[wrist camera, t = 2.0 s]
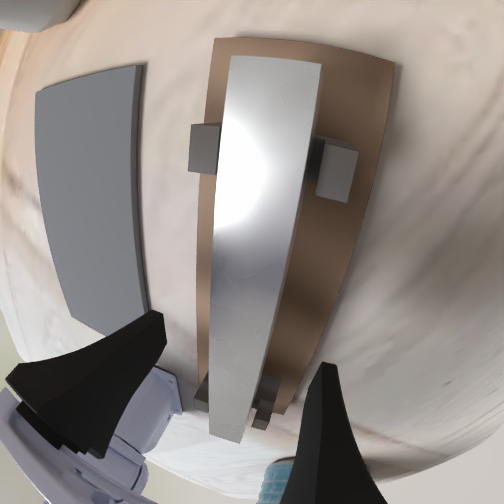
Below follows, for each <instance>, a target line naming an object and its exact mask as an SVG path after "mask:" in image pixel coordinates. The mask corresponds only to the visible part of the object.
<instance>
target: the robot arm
mask: <svg viewBox="0 0 504 504" xmlns="http://www.w3.org/2000/svg"><path fill="white" fill-rule="evenodd" d="M166 344H167V338H166V332H165V324H164V317H163V314H162V313H160V312H157V311H155V310H150V311H149V312H147V313H145V314H144V315H142V316H140V317H139V318H137V319H135V320H134V321H132V322H131V323H129V324H127V325H126V326H124V327H122V328H121V329H119V330H117V331H115V332H114V333H112V334H110V335H108V336H107V337H105V338H103V339H101V340H99V341H97V342H95V343H93V344H91V345H89V346H86V347H84V348H82V349H79V350H77V351H74V352H71V353H68V354H65V355H62V356H59V357H55V358H51V359H47V360H42V361H36V362H29V363H19V364H18V365H17V366H16V367H15V368H14V370H13V371H12V372H11V373H10V374H9V375H8V376H7V377H6V378H5V380H6V382H7V383H8V384H9V385H10V387H11V388H12V389H13V390H14V391H15V392H16V394H17V395H18V396H19V397H20V398H21V399H22V402H21V403H20V402H19V401H18V400H17V399H16V398H15V397H14V396H13V394H12V393H11V392H10V391H9V390H8V389H7V388H6V387H5V388H4V389H3V390H2V391H1V392H0V441H1V442H2V444H3V445H4V447H5V448H6V450H7V451H8V453H9V454H10V456H11V457H12V458H13V460H14V461H15V463H16V464H17V465H18V467H19V468H20V469H21V470H22V472H23V473H24V474H25V476H26V477H27V478H28V479H29V480H30V482H31V483H32V484H33V485H34V486H35V488H36V489H37V490H38V491H39V492H40V493H41V494H42V495H43V497H44V499H43V501H42V502H41V504H157V503H156V502H154V501H151V500H149V499H147V498H145V497H143V496H141V495H140V494H141V493H142V491H143V489H144V487H145V485H146V483H147V480H148V469H147V465H146V464H145V463H144V460H145V459H146V457H144V456H142V454H144V453H147V452H149V451H151V450H152V449H153V448H154V447H155V446H156V445H157V443H158V441H159V439H160V438H161V436H162V434H163V432H164V430H165V429H166V427H167V425H168V423H169V421H170V420H171V418H172V416H173V414H174V413H175V414H177V415H182V413H183V412H182V407H181V402H180V397H179V392H178V387H177V381H176V377H175V376H174V375H172V374H170V373H167V372H165V371H163V370H160V369H158V368H156V367H154V365H155V364H156V362H157V361H158V359H159V357H160V356H161V354H162V352H163V350H164V348H165V346H166ZM279 504H388V503H387V502H386V500H385V499H384V497H383V496H382V495H381V493H380V491H379V490H378V488H377V486H376V484H375V483H374V481H373V479H372V477H371V475H370V473H369V471H368V469H367V467H366V465H365V463H364V461H363V459H362V456H361V454H360V452H359V449H358V446H357V444H356V441H355V438H354V436H353V433H352V429H351V426H350V423H349V419H348V416H347V412H346V408H345V404H344V400H343V396H342V391H341V386H340V381H339V375H338V368H337V366H336V364H331V363H326V362H322V363H321V365H320V367H319V369H318V371H317V372H316V374H315V376H314V378H313V380H312V382H311V384H310V386H309V388H308V392H307V396H306V400H305V404H304V408H303V415H302V421H301V428H300V434H299V441H298V446H297V452H296V456H295V460H294V463H293V466H292V470H291V473H290V476H289V479H288V482H287V485H286V487H285V490H284V493H283V495H282V498H281V501H280V503H279Z"/></svg>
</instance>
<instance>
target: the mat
mask: <svg viewBox="0 0 504 504" xmlns="http://www.w3.org/2000/svg"><path fill="white" fill-rule="evenodd" d="M141 75H142V66H138V65H135V66H129V67H123V68H118V69H113V70H108V71H104V72H100V73H95V74H91V75H87V76H84V77H80V78H77V79H73V80H70V81H66V82H63V83H60V84H57V85H54V86H51V87H48V88H46V89H43V90H40V91H38V92H36V97H35V154H36V167H37V178H38V186H39V194H40V201H41V207H42V213H43V218H44V224H45V229H46V233H47V238H48V242H49V246H50V250H51V254H52V258H53V262H54V265H55V269H56V272H57V276H58V279H59V282H60V285H61V288H62V292H63V294H64V297H65V300H66V303H67V306H68V309H69V311H70V314H71V316H72V317H73V318H75V319H77V320H78V321H80V322H82V323H83V324H85V325H87V326H88V327H90V328H92V329H94V330H95V331H97V332H99V333H101V334H103V335H105V336H106V337H107V336H108V335H110V334H112V333H114V332H115V331H117V330H119V329H121V328H122V327H124V326H126V325H127V324H129V323H131V322H132V321H134V320H135V319H137V318H139V317H140V316H142V315H144V314H145V313H147V312H149V311H148V304H147V298H146V291H145V284H144V276H143V267H142V258H141V248H140V237H139V223H138V205H137V125H138V108H139V95H140V84H141Z"/></svg>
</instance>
